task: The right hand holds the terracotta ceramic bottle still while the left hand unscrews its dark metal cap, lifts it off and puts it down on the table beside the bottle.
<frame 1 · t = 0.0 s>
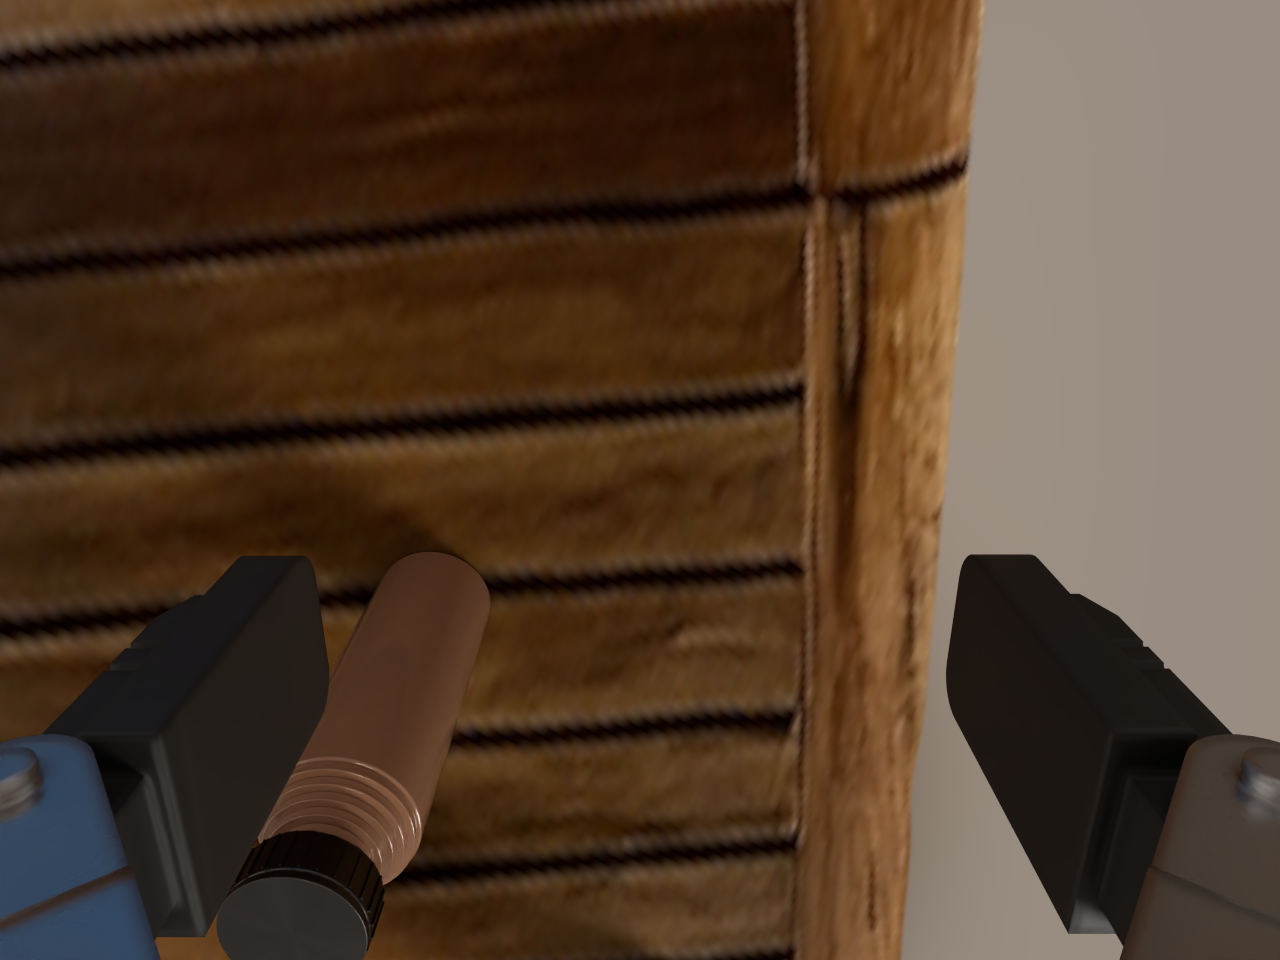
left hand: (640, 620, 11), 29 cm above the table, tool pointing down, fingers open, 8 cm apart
bottle: (434, 601, 44), on the table
cap: (295, 926, 26), point 19 cm above the table, screwed on, not yet turned
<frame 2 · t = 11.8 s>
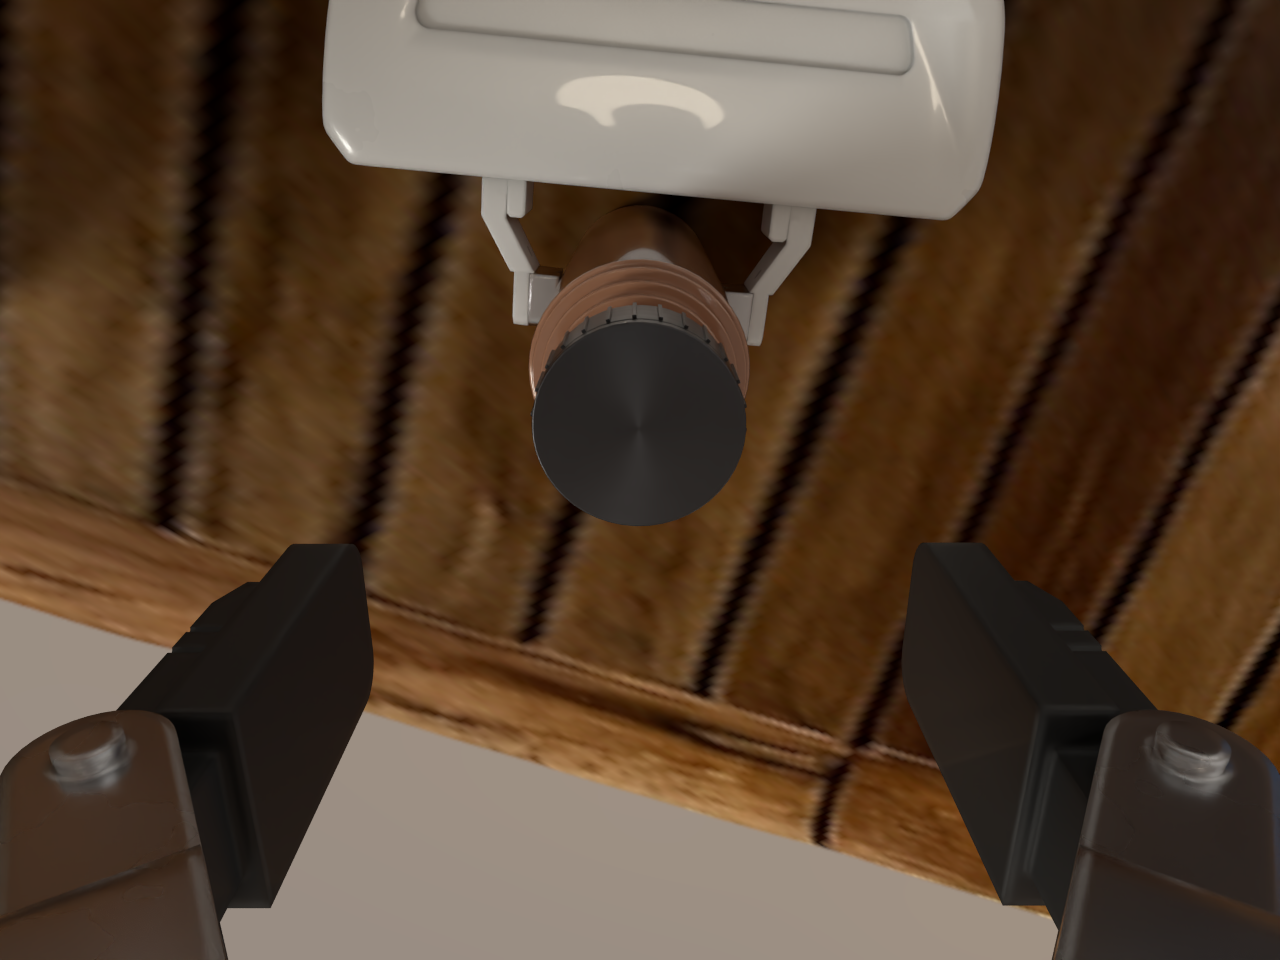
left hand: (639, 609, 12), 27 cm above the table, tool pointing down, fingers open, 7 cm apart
bottle: (639, 275, 37), on the table, touching right hand
cap: (638, 424, 19), point 19 cm above the table, screwed on, not yet turned
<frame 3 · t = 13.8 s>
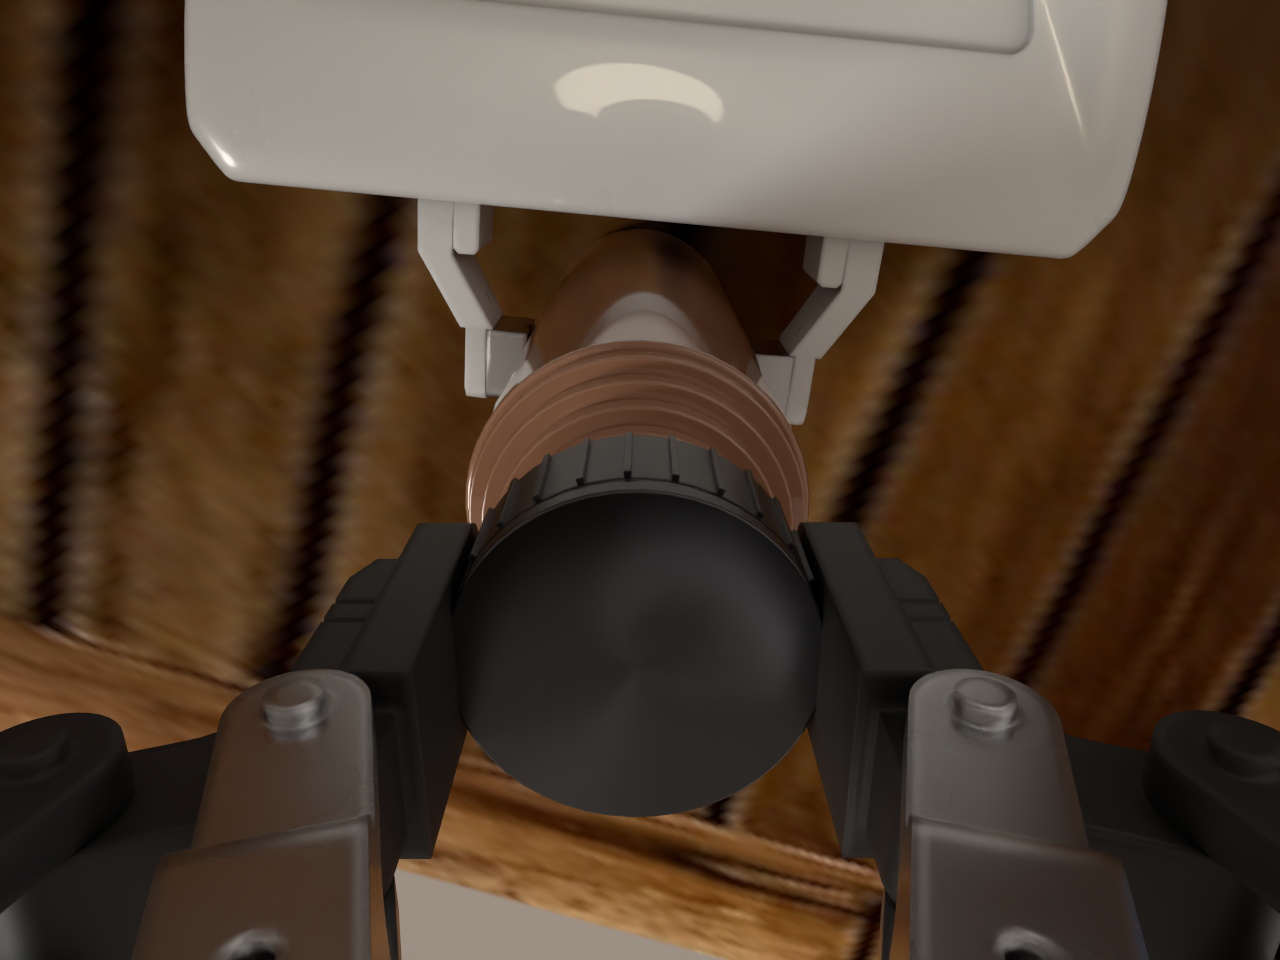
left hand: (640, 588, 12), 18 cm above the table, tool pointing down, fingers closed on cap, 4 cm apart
bottle: (638, 318, 29), on the table, touching right hand
cap: (636, 652, 11), point 19 cm above the table, screwed on, not yet turned, touching left hand
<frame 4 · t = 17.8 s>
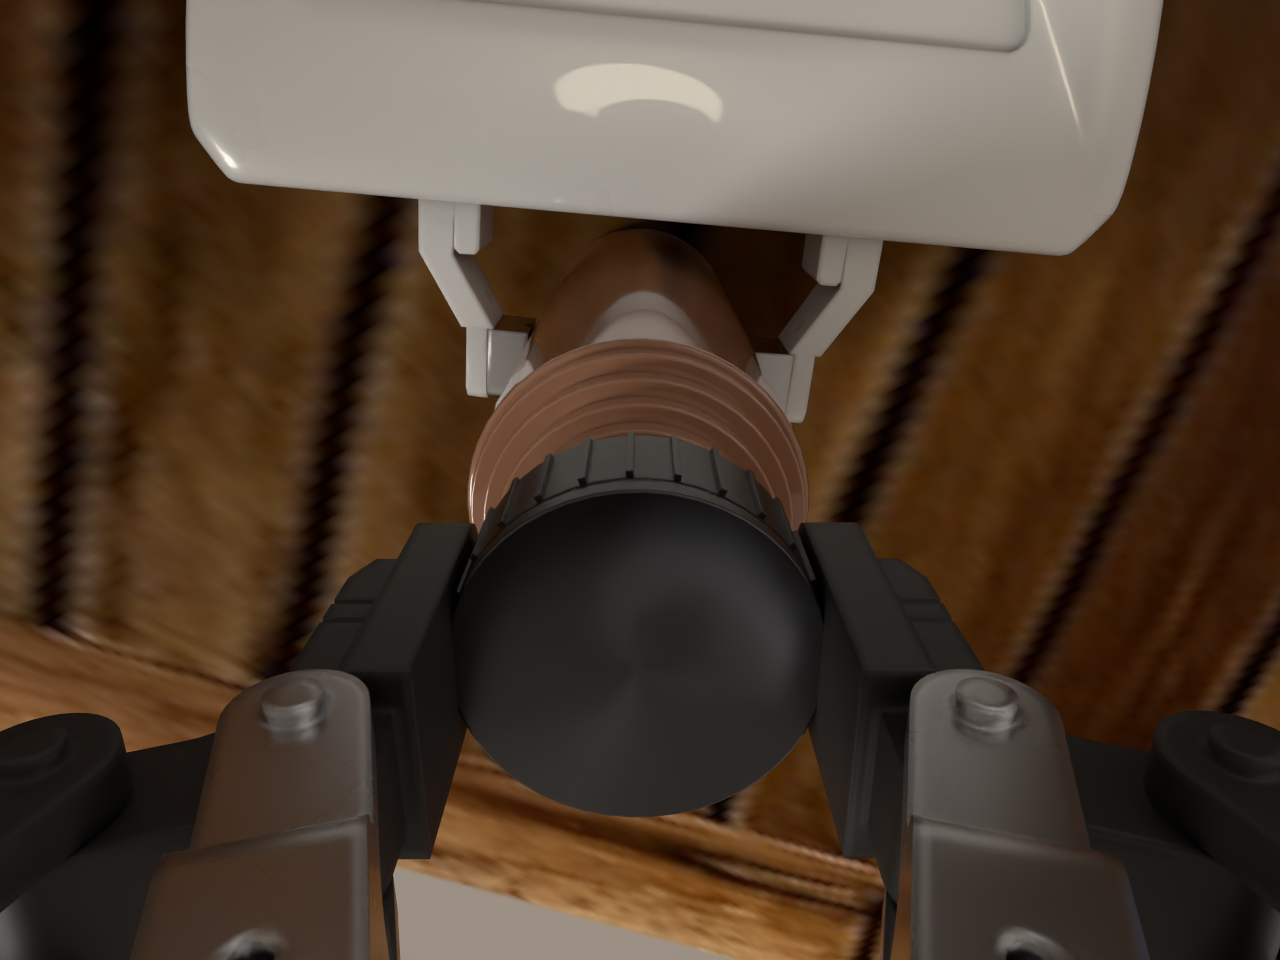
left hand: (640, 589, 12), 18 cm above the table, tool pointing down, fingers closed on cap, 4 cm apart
bottle: (638, 317, 29), on the table, touching right hand
cap: (637, 652, 11), point 19 cm above the table, turned 96° so far, risen 0.1 cm, still on its thread, touching left hand
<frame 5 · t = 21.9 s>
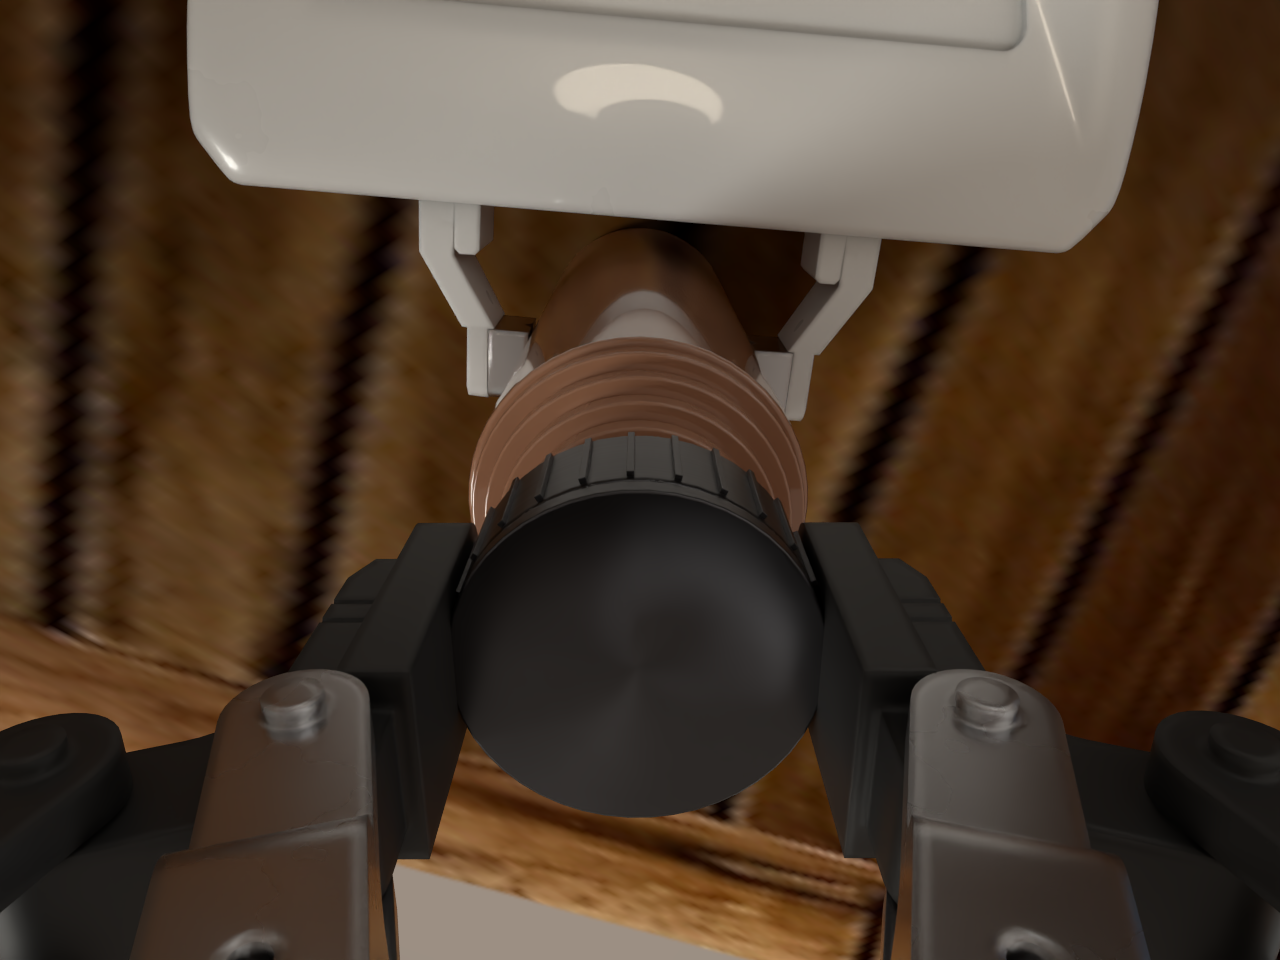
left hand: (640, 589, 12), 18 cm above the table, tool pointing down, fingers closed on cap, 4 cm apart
bottle: (639, 317, 29), on the table, touching right hand
cap: (637, 653, 11), point 20 cm above the table, turned 193° so far, risen 0.2 cm, still on its thread, touching left hand
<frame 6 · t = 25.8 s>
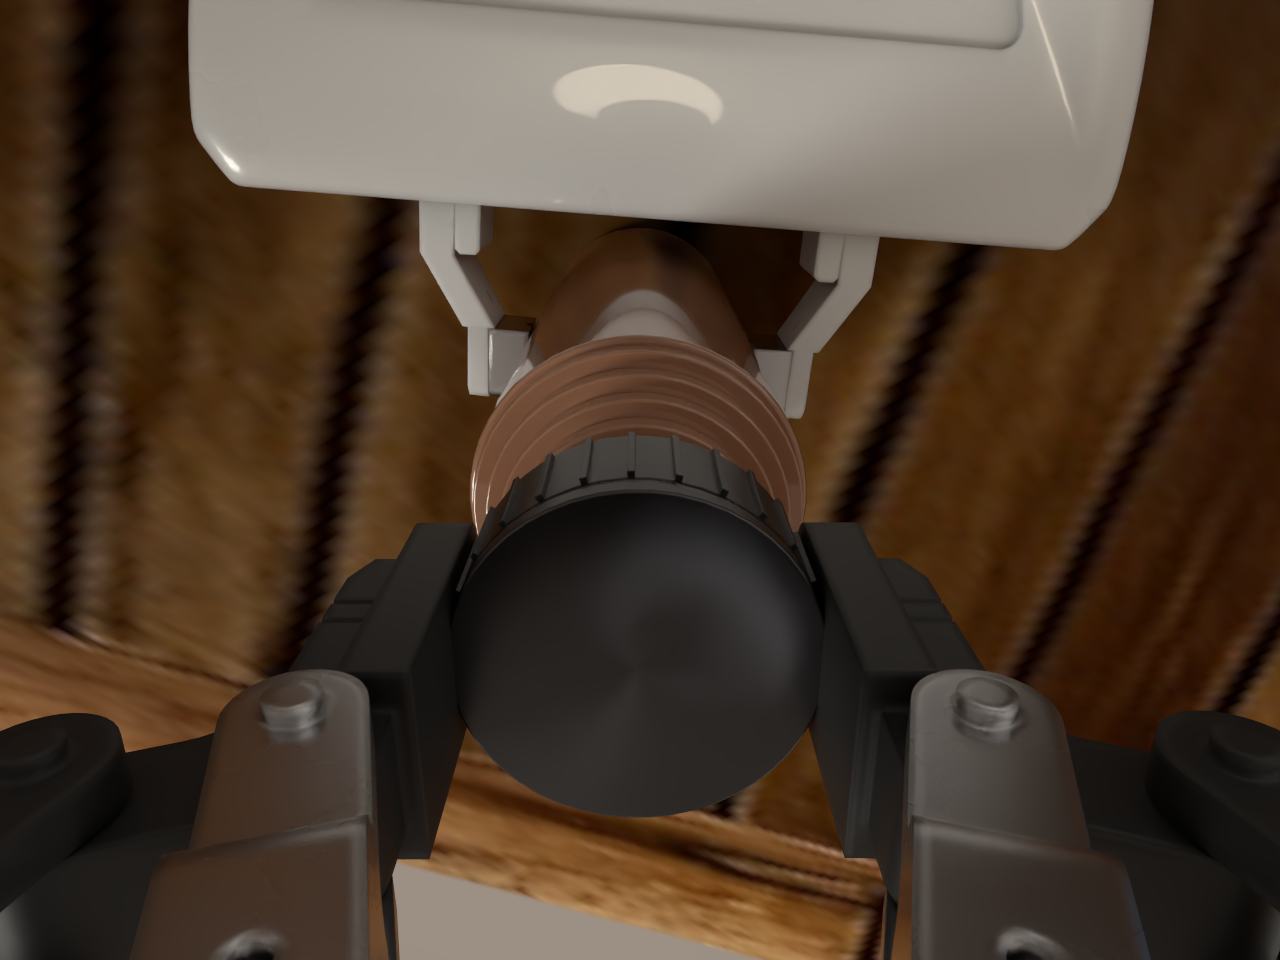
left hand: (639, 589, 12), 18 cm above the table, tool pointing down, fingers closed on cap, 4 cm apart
bottle: (639, 316, 29), on the table, touching right hand
cap: (637, 653, 11), point 20 cm above the table, turned 289° so far, risen 0.3 cm, still on its thread, touching left hand
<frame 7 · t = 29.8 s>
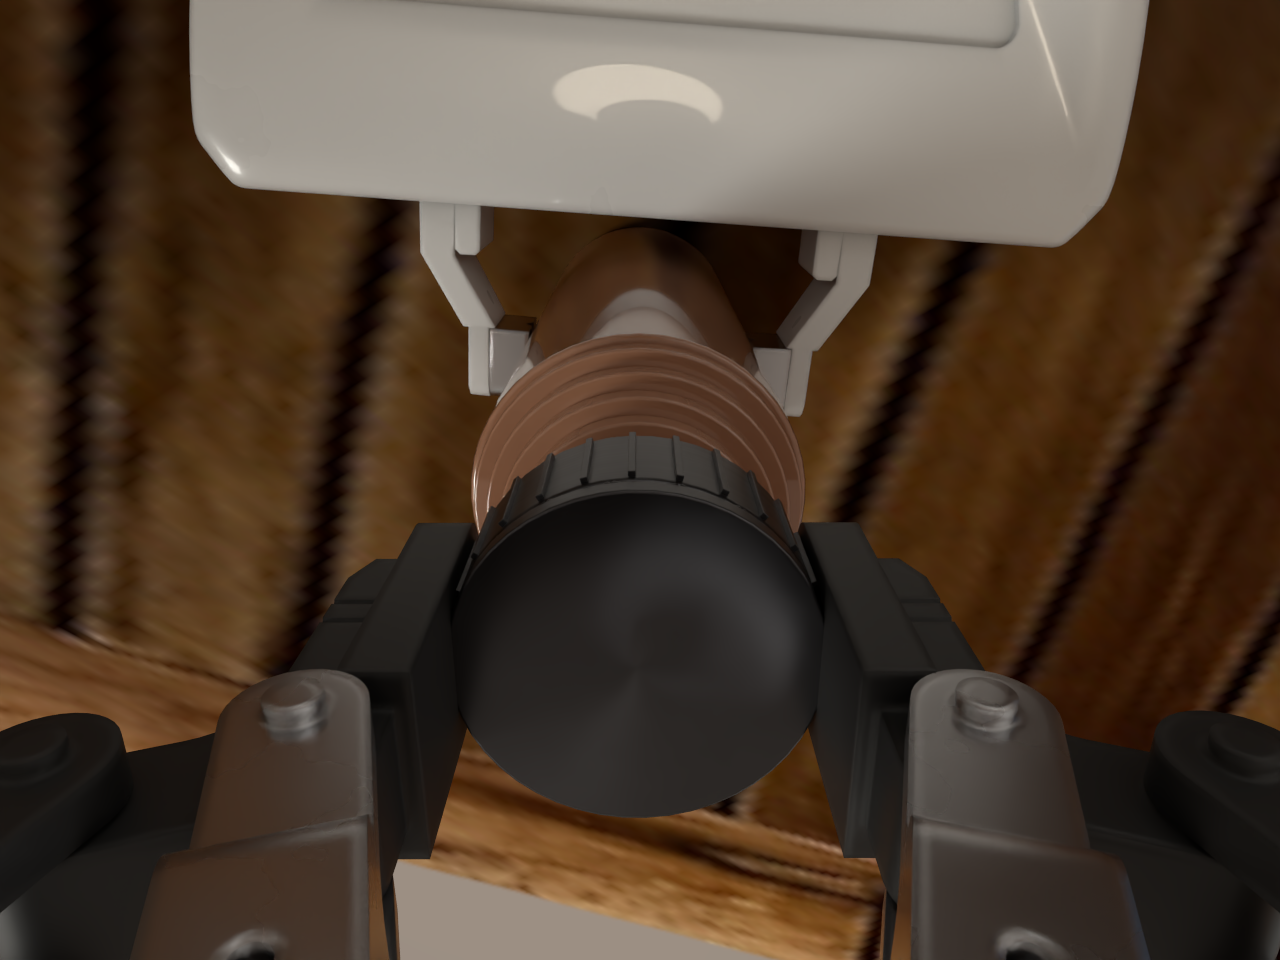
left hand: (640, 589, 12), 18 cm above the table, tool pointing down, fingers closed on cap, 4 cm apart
bottle: (638, 315, 29), on the table, touching right hand
cap: (637, 653, 11), point 20 cm above the table, turned 386° so far, risen 0.5 cm, still on its thread, touching left hand
when the left hand's fingers open (1 cm above the table, at t = 37.5 s): cap stays where it is, point 2 cm above the table.
when the right hand's fingers open (6 cm above the table, at t = 38.7 s): bottle stays where it is, on the table.
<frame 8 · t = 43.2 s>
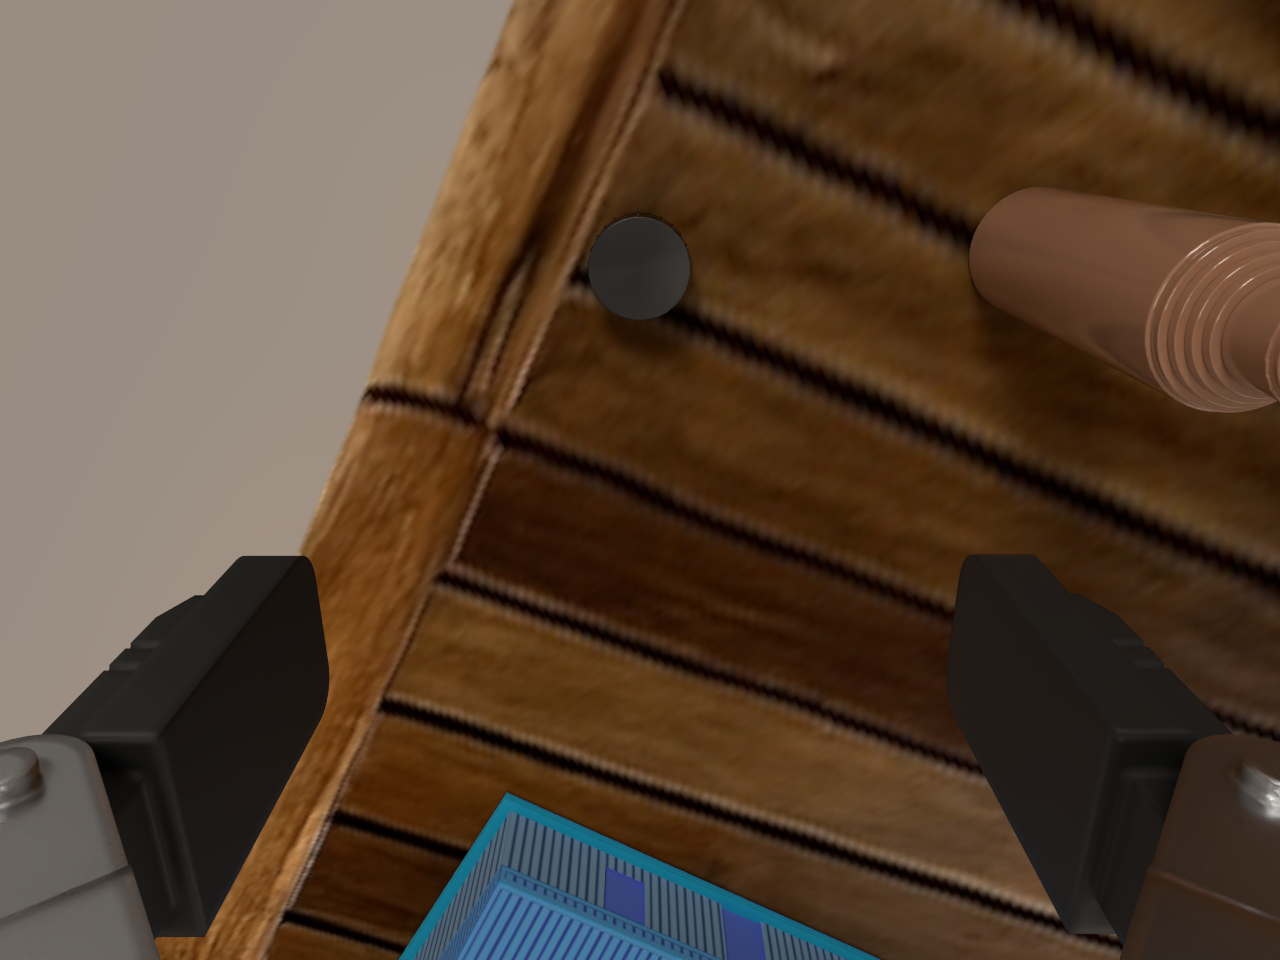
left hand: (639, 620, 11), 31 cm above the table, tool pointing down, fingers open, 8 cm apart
bottle: (1030, 251, 40), on the table
cap: (639, 268, 39), point 2 cm above the table, off its thread
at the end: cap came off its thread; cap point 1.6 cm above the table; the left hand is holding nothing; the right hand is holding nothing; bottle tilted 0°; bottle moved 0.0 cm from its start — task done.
